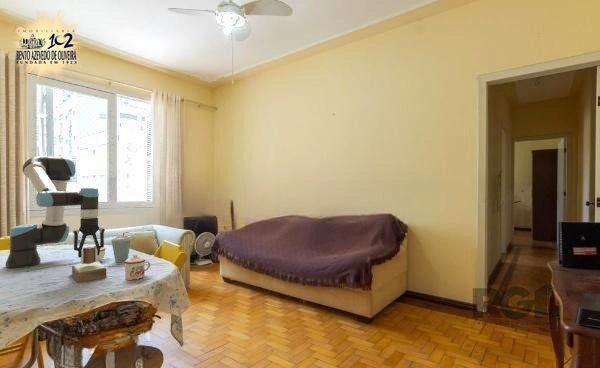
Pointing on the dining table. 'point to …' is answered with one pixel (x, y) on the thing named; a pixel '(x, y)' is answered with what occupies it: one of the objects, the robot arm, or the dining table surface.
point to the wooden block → (88, 255)
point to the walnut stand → (88, 271)
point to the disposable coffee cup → (121, 248)
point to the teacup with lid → (135, 267)
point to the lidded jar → (101, 255)
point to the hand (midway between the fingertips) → (89, 262)
